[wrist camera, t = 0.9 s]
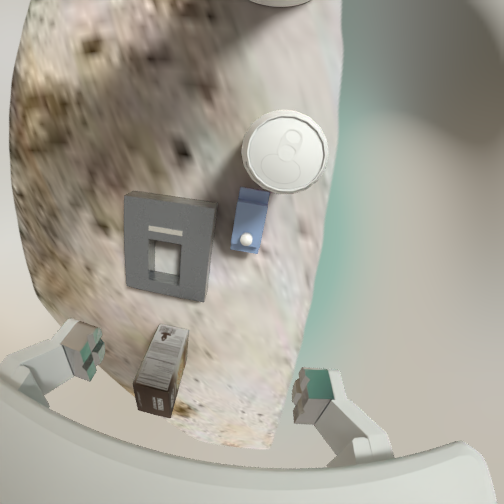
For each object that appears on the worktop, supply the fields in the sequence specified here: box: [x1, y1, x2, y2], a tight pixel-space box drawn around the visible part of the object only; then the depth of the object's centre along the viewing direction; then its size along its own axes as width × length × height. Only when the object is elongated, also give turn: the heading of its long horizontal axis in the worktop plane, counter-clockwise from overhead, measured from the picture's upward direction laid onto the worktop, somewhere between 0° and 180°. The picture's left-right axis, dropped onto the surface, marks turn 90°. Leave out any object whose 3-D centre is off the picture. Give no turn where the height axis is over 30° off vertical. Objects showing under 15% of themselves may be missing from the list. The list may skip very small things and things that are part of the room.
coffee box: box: [133, 324, 189, 418], centre depth 46 cm, size 9×6×16 cm
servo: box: [231, 187, 270, 254], centre depth 39 cm, size 9×4×6 cm, turn 170°
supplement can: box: [241, 110, 329, 194], centre depth 30 cm, size 8×8×15 cm
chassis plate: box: [124, 191, 218, 302], centre depth 42 cm, size 16×14×3 cm
